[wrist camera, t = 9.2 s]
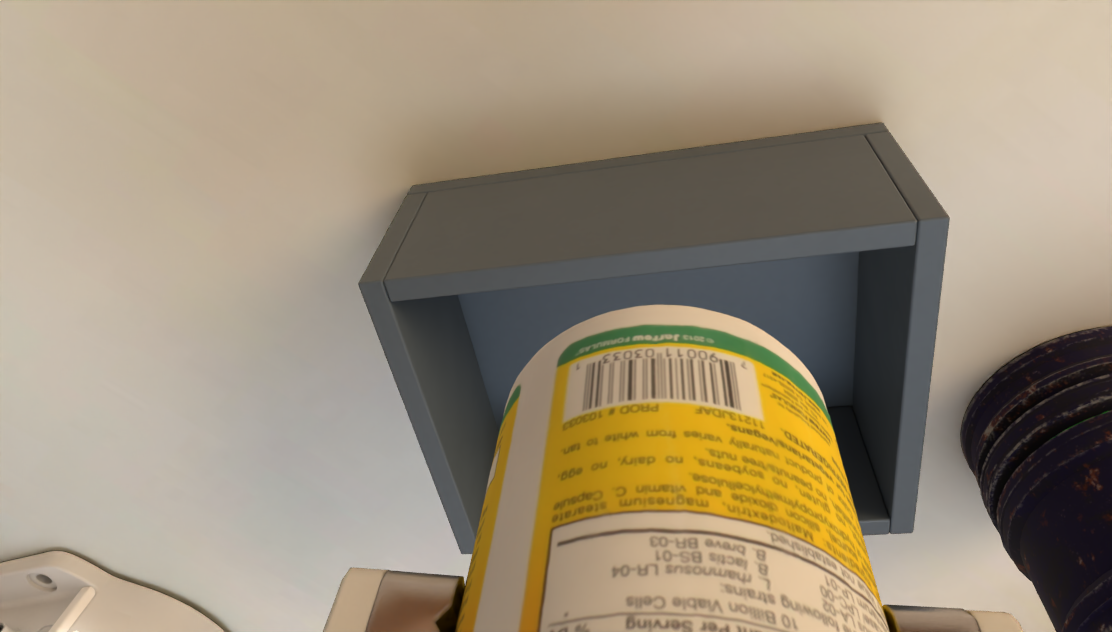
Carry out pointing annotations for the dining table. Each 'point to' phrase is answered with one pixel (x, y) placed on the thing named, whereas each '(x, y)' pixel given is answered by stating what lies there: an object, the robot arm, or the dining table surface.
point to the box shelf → (673, 289)
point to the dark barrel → (1052, 472)
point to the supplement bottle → (668, 489)
